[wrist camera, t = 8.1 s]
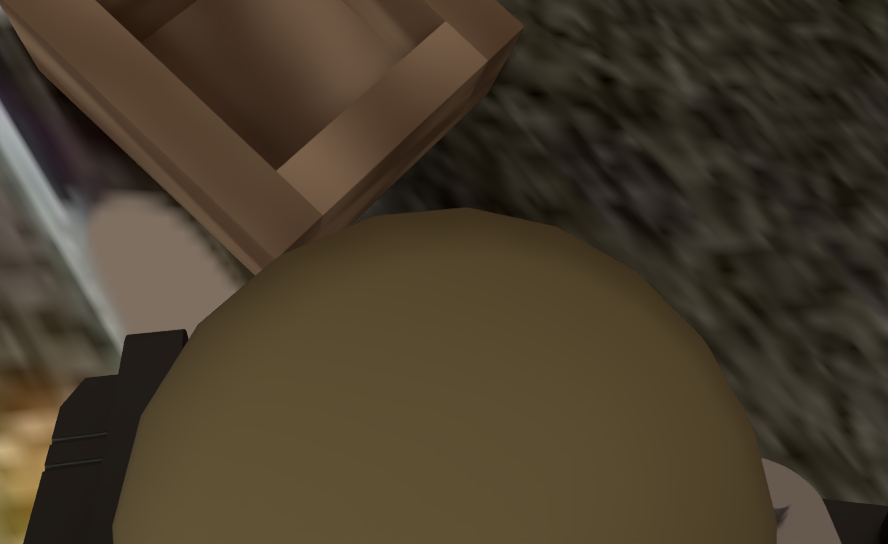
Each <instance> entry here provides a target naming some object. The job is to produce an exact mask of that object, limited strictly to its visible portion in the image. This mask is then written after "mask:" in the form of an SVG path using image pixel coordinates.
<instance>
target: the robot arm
mask: <svg viewBox="0 0 888 544" xmlns="http://www.w3.org/2000/svg"><path fill="white" fill-rule="evenodd" d="M187 341H188V336H187V332H186V330H185V329H181V330H171V331H161V332H152V333H141V334H131V335H127V336H126V338H125V341H124V346H123V352H122V357H121V362H120V368H119V373H118V375H109V376H100V377H91V378H85V379H84V380H83V381H82V382H81V384H80V385H79V386H78V387H77V388H76V389H75V391H74V392H73V393H72V394H71V395H70V396H69V397H68V399H67V400H66V401H65V402H64V403H63V404H62V406H61V407H60V410H59V413H58V417H57V421H56V425H55V428H54V432H53V436H52V445H50V447H49V450H48V454H47V458H46V461H45V471H44V472H43V473H42V476H41V480H40V484H39V487H38V491H37V495H36V498H35V502H34V506H33V509H32V513H31V517H30V520H29V524H28V528H27V532H26V535H25V539H24V543H23V544H113V530H112V525H113V521H114V517H115V514H116V510H117V506H118V502H119V498H120V494H121V490H122V487H123V483H124V479H125V475H126V471H127V467H128V463H129V460H130V456H131V452H132V448H133V444H134V440H135V436H136V433H137V429H138V425H139V421H140V417H141V415H142V413H143V412H144V410H145V408H146V407H147V405H148V404H149V402H150V400H151V399H152V397H153V396H154V394H155V392H156V391H157V389H158V388H159V386H160V384H161V383H162V381H163V380H164V378H165V376H166V375H167V373H168V372H169V370H170V369H171V367H172V365H173V364H174V362H175V361H176V359H177V357H178V356H179V354H180V353H181V351H182V349H183V348H184V346H185V345H186V343H187ZM761 459H762V463H763V467H764V471H765V475H766V479H767V483H768V488H769V492H770V496H771V500H772V504H773V508H774V512H775V516H776V520H777V544H888V506H881V505H872V504H863V503H853V502H844V501H835V500H827V499H821V497H820V496H819V494H818V493H817V492H816V490H815V489H814V488H813V487H812V486H811V485H810V484H809V483H808V482H807V481H805V480H804V479H803V478H802V477H800V476H799V475H798V474H796V473H795V472H793V471H791V470H790V469H788V468H786V467H784V466H782V465H780V464H778V463H775V462H773V461H770V460H767V459H763V458H761Z"/></svg>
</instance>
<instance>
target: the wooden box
mask: <svg viewBox="0 0 888 544" xmlns="http://www.w3.org/2000/svg"><path fill="white" fill-rule="evenodd" d="M0 5H1V7H2V9H3V10H4V12H5V14H6V15H7V17H8V19H9V20H10V22H11V24H12V25H13V27H14V29H15V30H16V32H17V34H18V35H19V37H20V39H21V41H22V42H23V44H24V46H25V47H26V49H27V51H28V52H29V54H30V56H31V57H32V59H33V61H34V62H35V64H36V66H37V67H38V69H39V71H41V72H42V73H43V74H44V75H45V76H46V77H47V78H48V79H49V80H50V81H51V82H52V83H53V84H54V85H55V86H56V87H57V88H58V89H59V90H61V91H62V92H63V93H64V94H65V95H66V96H67V97H68V98H69V99H70V100H71V101H72V102H73V103H74V104H75V105H76V106H77V107H78V108H79V109H81V110H82V111H83V112H84V113H85V114H86V115H87V116H88V117H89V118H90V119H91V120H92V121H93V122H94V123H95V124H96V125H97V126H98V127H99V128H100V129H102V130H103V131H104V132H105V133H106V134H107V135H108V136H109V137H110V138H111V139H112V140H113V141H114V142H115V143H116V144H117V145H118V146H119V147H120V148H122V149H123V150H124V151H125V152H126V153H127V154H128V155H129V156H130V157H131V158H132V159H133V160H134V161H135V162H136V163H137V164H138V165H139V166H140V167H142V168H143V169H144V170H145V171H146V172H147V173H148V174H149V175H150V176H151V177H152V178H153V179H154V180H155V181H156V182H157V183H158V184H159V185H160V186H162V187H163V188H164V189H165V190H166V191H167V192H168V193H169V194H170V195H171V196H172V197H173V198H174V199H175V200H176V201H177V202H178V203H179V204H180V205H182V206H183V207H184V208H185V209H186V210H187V211H188V212H189V213H190V214H191V215H192V216H193V217H194V218H195V219H196V220H197V221H198V222H199V223H200V224H202V225H203V226H204V227H205V228H206V229H207V230H208V231H209V232H210V233H211V234H212V235H213V236H214V237H215V238H216V239H217V240H218V241H219V242H220V243H222V244H223V245H224V246H225V247H226V248H227V249H228V250H229V251H230V252H231V253H232V254H233V255H234V256H235V257H236V258H237V259H238V260H239V261H240V262H242V263H243V264H244V265H245V266H246V267H247V268H248V269H249V270H250V271H251V272H252V273H253V274H254V275H255V276H256V275H257V274H258V273H259V272H260V271H262V270H263V269H264V268H265V267H266V266H267V265H269V264H270V263H271V262H272V261H273V260H274V259H276V258H278V257H279V256H281V255H283V254H285V253H287V252H289V251H292V250H294V249H297V248H299V247H301V246H304V245H306V244H308V243H311V242H313V241H316V240H318V239H320V238H323V237H325V236H327V235H330V234H332V233H335V232H337V231H339V230H342V229H344V228H346V227H349V226H350V225H351V224H352V223H353V222H354V221H355V220H356V219H357V218H358V217H359V216H360V215H362V214H363V213H364V212H365V211H366V210H367V209H368V208H369V207H370V206H371V205H372V204H373V203H374V202H375V201H376V200H377V199H378V198H379V197H380V196H381V195H382V194H383V193H385V192H386V191H387V190H388V189H389V188H390V187H391V186H392V185H393V184H394V183H395V182H396V181H397V180H398V179H399V178H400V177H401V176H402V175H403V174H404V173H405V172H406V171H407V170H409V169H410V168H411V167H412V166H413V165H414V164H415V163H416V162H417V161H418V160H419V159H420V158H421V157H422V156H423V155H424V154H425V153H426V152H427V151H428V150H429V149H430V148H432V147H433V146H434V145H435V144H436V143H437V142H438V141H439V140H440V139H441V138H442V137H443V136H444V135H445V134H446V133H447V132H448V131H449V130H450V129H451V128H452V127H453V126H455V125H456V124H457V123H458V122H459V121H460V120H461V119H462V118H463V117H464V116H465V115H466V114H467V113H468V112H469V111H470V110H471V109H472V108H473V107H474V106H475V105H476V104H477V103H479V102H480V101H481V100H482V99H483V98H484V97H485V96H486V95H487V94H488V92H489V91H490V89H491V87H492V85H493V83H494V81H495V80H496V78H497V76H498V74H499V72H500V71H501V69H502V67H503V65H504V63H505V61H506V60H507V58H508V56H509V54H510V52H511V51H512V49H513V47H514V45H515V43H516V41H517V40H518V38H519V36H520V34H521V32H522V30H523V29H524V27H525V26H523V25H522V24H521V23H520V22H519V21H518V20H517V19H516V18H515V17H514V16H513V15H512V14H511V13H509V12H508V11H507V10H506V9H505V8H504V7H503V6H502V5H501V4H500V3H499V2H498V1H497V0H0Z"/></svg>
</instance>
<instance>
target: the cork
mask: <svg viewBox="0 0 888 544" xmlns="http://www.w3.org/2000/svg"><path fill="white" fill-rule="evenodd" d="M112 530H113V544H777V520H776V516H775V512H774V508H773V504H772V500H771V496H770V492H769V488H768V483H767V479H766V475H765V471H764V467H763V463H762V459H761V455H760V451H759V447H758V443H757V439H756V435H755V431H754V428H753V426H752V424H751V422H750V420H749V419H748V417H747V415H746V413H745V411H744V410H743V408H742V406H741V404H740V402H739V401H738V399H737V397H736V395H735V394H734V392H733V390H732V388H731V386H730V385H729V383H728V381H727V379H726V377H725V376H724V374H723V372H722V370H721V368H720V367H719V365H718V363H717V361H716V359H715V358H714V356H713V354H712V352H711V350H710V349H709V347H708V345H707V344H706V342H705V341H704V340H703V338H702V337H701V336H700V335H699V334H698V333H697V332H696V331H695V330H694V329H693V328H692V327H691V326H690V325H689V324H688V323H687V322H686V321H685V320H684V319H683V318H682V317H681V316H680V315H679V314H678V313H677V312H676V311H675V310H674V309H673V308H672V307H671V305H670V304H669V303H668V302H667V301H666V300H665V299H664V298H663V297H662V296H661V295H660V294H659V293H658V292H657V291H656V290H655V289H654V288H653V287H652V286H651V285H650V284H649V283H648V282H647V281H646V280H645V279H644V278H643V277H642V276H641V275H640V274H639V273H638V272H637V271H635V270H634V269H632V268H630V267H628V266H626V265H625V264H623V263H621V262H619V261H617V260H616V259H614V258H612V257H610V256H609V255H607V254H605V253H603V252H601V251H600V250H598V249H596V248H594V247H592V246H591V245H589V244H587V243H585V242H583V241H582V240H580V239H578V238H576V237H574V236H573V235H571V234H569V233H567V232H565V231H564V230H562V229H560V228H558V227H556V226H551V225H547V224H542V223H537V222H533V221H528V220H524V219H519V218H514V217H510V216H505V215H500V214H496V213H491V212H487V211H482V210H477V209H473V208H468V207H466V208H455V209H444V210H433V211H422V212H411V213H400V214H389V215H378V216H373V217H370V218H368V219H365V220H363V221H361V222H358V223H356V224H354V225H351V226H349V227H346V228H344V229H342V230H339V231H337V232H335V233H332V234H330V235H327V236H325V237H323V238H320V239H318V240H316V241H313V242H311V243H308V244H306V245H304V246H301V247H299V248H297V249H294V250H292V251H289V252H287V253H285V254H283V255H281V256H279V257H278V258H276V259H274V260H273V261H272V262H271V263H270V264H269V265H267V266H266V267H265V268H264V269H263V270H262V271H260V272H259V273H258V274H257V275H256V276H254V277H253V278H252V279H251V280H250V281H249V282H247V283H246V284H245V285H244V286H243V287H242V288H240V289H239V290H238V291H237V292H236V293H235V294H233V295H232V296H231V297H230V298H229V299H228V300H226V301H225V302H224V303H223V304H222V305H221V306H219V307H218V308H217V309H216V310H215V311H213V312H212V313H211V314H210V315H209V316H208V317H206V318H205V319H204V320H203V321H202V322H201V323H199V324H198V325H197V327H196V329H195V330H194V332H193V334H192V335H191V337H190V338H189V340H188V341H187V343H186V345H185V346H184V348H183V349H182V351H181V353H180V354H179V356H178V357H177V359H176V361H175V362H174V364H173V365H172V367H171V369H170V370H169V372H168V373H167V375H166V376H165V378H164V380H163V381H162V383H161V384H160V386H159V388H158V389H157V391H156V392H155V394H154V396H153V397H152V399H151V400H150V402H149V404H148V405H147V407H146V408H145V410H144V412H143V413H142V415H141V417H140V421H139V425H138V429H137V433H136V436H135V440H134V444H133V448H132V452H131V456H130V460H129V463H128V467H127V471H126V475H125V479H124V483H123V487H122V490H121V494H120V498H119V502H118V506H117V510H116V514H115V517H114V521H113V525H112Z"/></svg>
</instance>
